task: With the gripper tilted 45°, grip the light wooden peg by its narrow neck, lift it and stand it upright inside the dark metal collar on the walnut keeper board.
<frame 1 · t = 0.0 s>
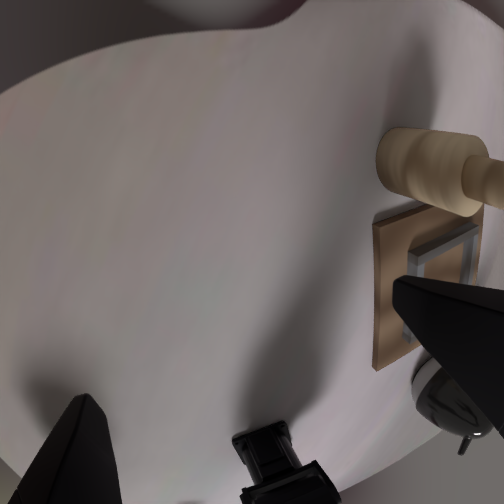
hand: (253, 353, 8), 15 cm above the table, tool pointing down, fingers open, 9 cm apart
black egg-shaped body: (425, 371, 40), on the table
wooden peg: (400, 160, 25), on the table
keeper board: (432, 276, 32), on the table
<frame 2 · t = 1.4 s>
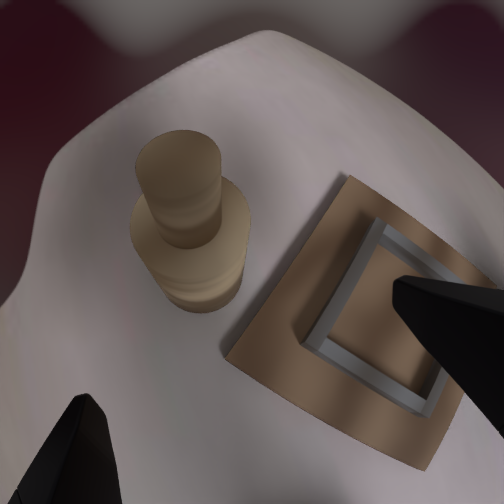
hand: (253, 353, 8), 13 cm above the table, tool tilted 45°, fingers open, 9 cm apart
wooden peg: (200, 272, 22), on the table
keeper board: (391, 322, 22), on the table
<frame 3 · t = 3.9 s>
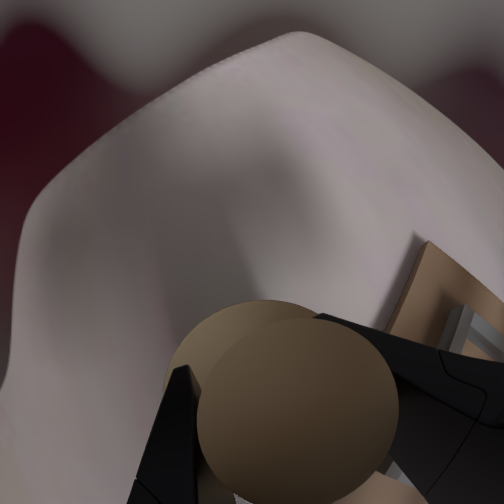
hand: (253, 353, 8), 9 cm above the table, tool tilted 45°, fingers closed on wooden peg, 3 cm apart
wooden peg: (248, 388, 16), on the table, touching gripper
keeper board: (462, 418, 15), on the table
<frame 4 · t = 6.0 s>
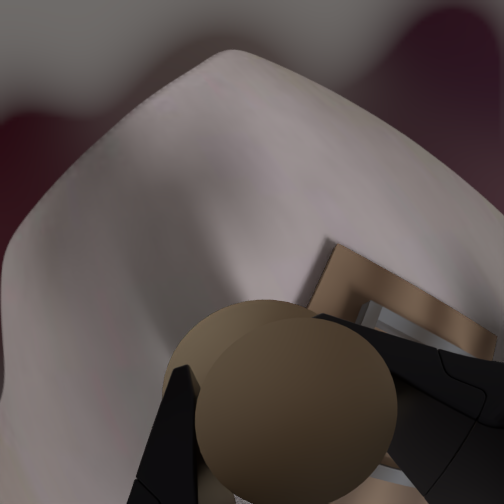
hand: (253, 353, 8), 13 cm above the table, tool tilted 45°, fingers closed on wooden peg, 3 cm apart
wooden peg: (248, 388, 16), point 4 cm above the table, touching gripper
keeper board: (388, 402, 20), on the table
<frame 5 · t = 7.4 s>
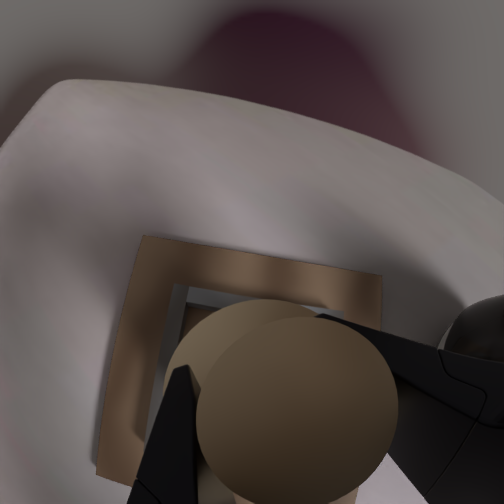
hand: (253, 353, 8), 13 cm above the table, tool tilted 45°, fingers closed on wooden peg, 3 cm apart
black egg-shaped body: (458, 371, 21), on the table
wooden peg: (248, 388, 16), point 4 cm above the table, touching gripper
keeper board: (244, 385, 20), on the table
when the fingers open (11 cm above the table, at t = 8.5 s): wooden peg drops 1 cm, resting on keeper board.
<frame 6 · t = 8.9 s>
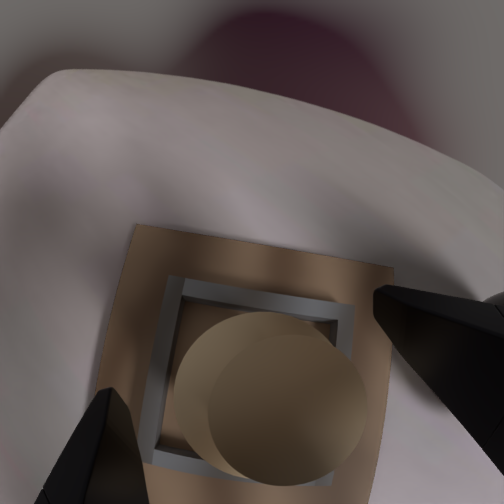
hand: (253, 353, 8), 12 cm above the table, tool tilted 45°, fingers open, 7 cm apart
wooden peg: (247, 388, 17), point 1 cm above the table, touching keeper board
keeper board: (246, 387, 18), on the table
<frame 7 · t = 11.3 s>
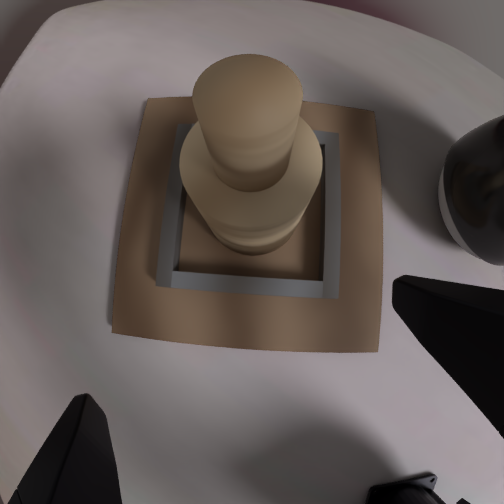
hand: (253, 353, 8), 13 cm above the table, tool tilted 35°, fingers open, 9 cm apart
black egg-shaped body: (467, 211, 22), on the table
wooden peg: (253, 210, 21), point 1 cm above the table, touching keeper board
keeper board: (252, 213, 22), on the table
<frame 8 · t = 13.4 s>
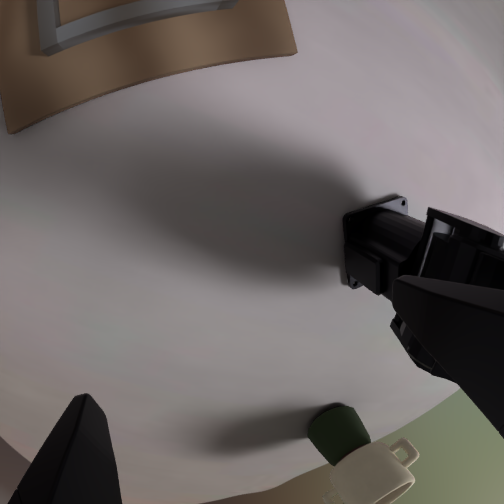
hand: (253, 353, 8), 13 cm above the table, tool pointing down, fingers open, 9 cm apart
cream and green trophy: (327, 418, 32), on the table
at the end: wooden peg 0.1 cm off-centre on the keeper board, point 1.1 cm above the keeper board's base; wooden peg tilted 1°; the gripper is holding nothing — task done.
